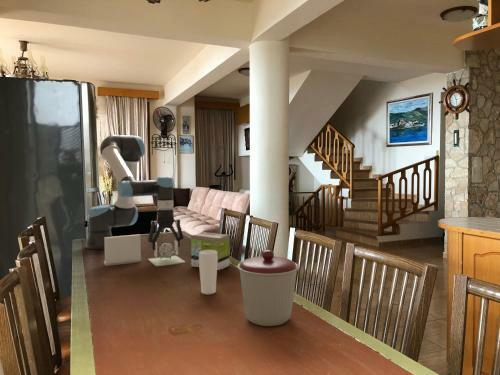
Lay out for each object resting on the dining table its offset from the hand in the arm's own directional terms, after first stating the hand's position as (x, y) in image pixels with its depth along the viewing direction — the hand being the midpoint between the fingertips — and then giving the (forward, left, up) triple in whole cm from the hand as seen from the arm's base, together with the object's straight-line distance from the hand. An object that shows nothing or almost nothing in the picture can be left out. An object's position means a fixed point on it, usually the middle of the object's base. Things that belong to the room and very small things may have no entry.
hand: (166, 255), depth 190 cm
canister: (+85, +6, -3) cm, 85 cm away
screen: (-8, -19, -3) cm, 21 cm away
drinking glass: (+53, 0, -3) cm, 53 cm away
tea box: (+19, +15, -3) cm, 24 cm away
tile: (0, 0, -3) cm, 3 cm away
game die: (0, 0, -2) cm, 2 cm away
